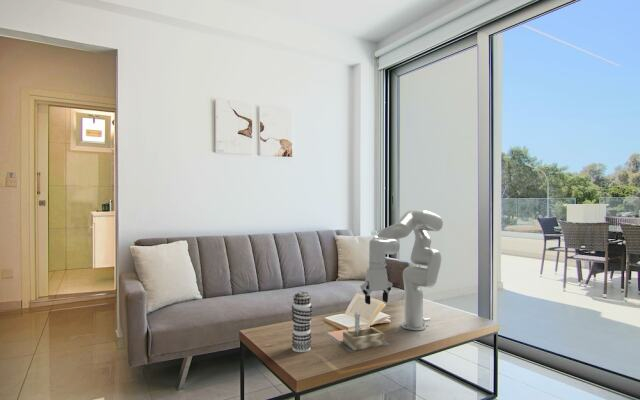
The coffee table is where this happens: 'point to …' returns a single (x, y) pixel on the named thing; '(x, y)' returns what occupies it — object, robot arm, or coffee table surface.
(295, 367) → the coffee table surface
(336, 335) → the pin stand
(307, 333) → the decorative candle
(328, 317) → the coffee table surface
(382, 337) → the open wooden box
